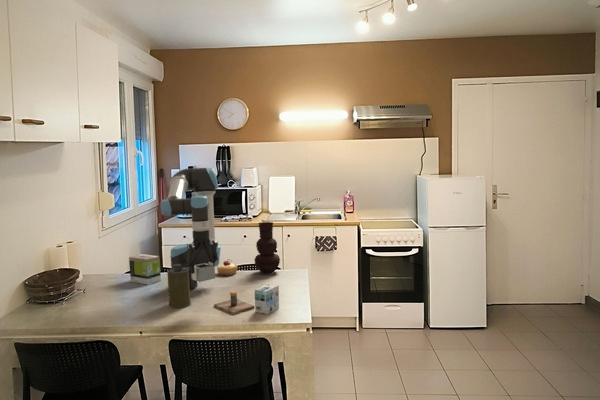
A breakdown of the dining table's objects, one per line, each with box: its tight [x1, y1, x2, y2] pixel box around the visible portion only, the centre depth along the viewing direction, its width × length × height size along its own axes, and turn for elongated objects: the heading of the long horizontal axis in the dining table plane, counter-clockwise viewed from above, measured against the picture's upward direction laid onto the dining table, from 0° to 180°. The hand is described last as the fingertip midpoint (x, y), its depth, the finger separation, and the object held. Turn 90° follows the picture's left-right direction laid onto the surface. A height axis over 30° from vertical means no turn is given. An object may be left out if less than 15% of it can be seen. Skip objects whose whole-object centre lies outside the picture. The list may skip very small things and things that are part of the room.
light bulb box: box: [254, 283, 280, 315], centre depth 234 cm, size 11×7×11 cm, turn 148°
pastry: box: [216, 258, 238, 276], centre depth 300 cm, size 12×12×9 cm
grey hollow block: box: [191, 263, 216, 283], centre depth 233 cm, size 8×8×6 cm
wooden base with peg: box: [213, 291, 255, 315], centre depth 238 cm, size 16×12×7 cm
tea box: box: [128, 253, 162, 286], centre depth 287 cm, size 15×10×15 cm
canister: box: [166, 264, 192, 309], centre depth 244 cm, size 11×10×20 cm
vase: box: [253, 221, 281, 275], centre depth 298 cm, size 15×15×30 cm
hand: (203, 277), depth 233 cm, fingers closed on grey hollow block, 8 cm apart
